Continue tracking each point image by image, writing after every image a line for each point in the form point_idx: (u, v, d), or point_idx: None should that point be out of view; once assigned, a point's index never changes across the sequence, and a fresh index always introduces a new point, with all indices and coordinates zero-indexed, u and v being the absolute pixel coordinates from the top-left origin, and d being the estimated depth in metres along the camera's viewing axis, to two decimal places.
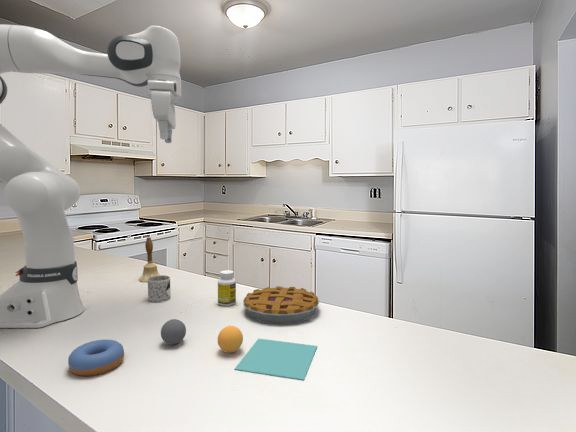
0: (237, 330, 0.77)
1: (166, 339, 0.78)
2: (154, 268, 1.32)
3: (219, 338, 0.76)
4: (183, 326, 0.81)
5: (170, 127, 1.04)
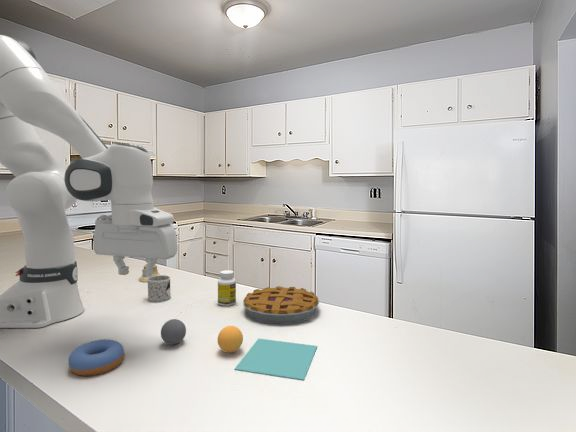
0: (237, 330, 0.77)
1: (166, 339, 0.78)
2: (154, 268, 1.32)
3: (219, 338, 0.76)
4: (183, 326, 0.81)
5: None
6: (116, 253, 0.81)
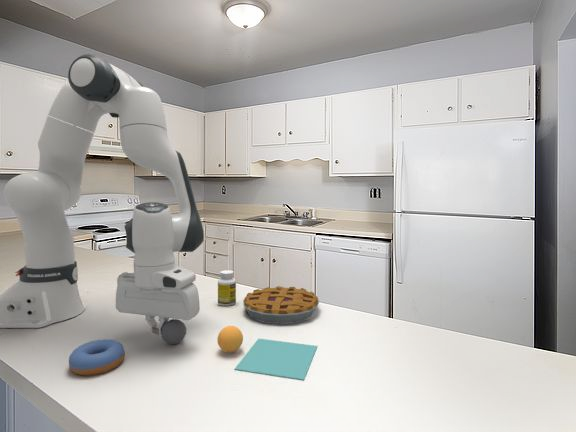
0: (237, 330, 0.77)
1: (167, 339, 0.78)
2: None
3: (219, 338, 0.76)
4: (183, 326, 0.81)
5: None
6: (139, 312, 0.81)
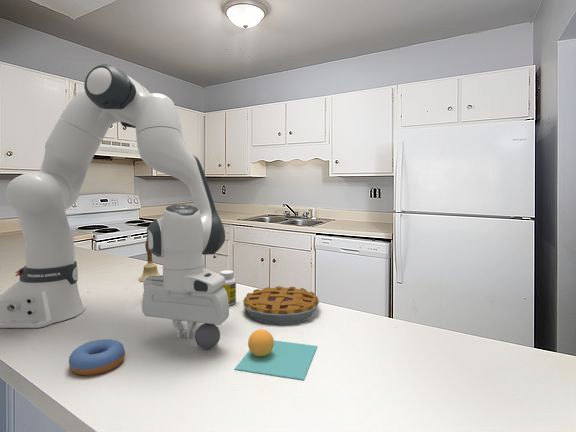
0: None
1: (201, 337, 0.76)
2: (154, 268, 1.32)
3: (265, 347, 0.73)
4: None
5: None
6: (166, 316, 0.79)
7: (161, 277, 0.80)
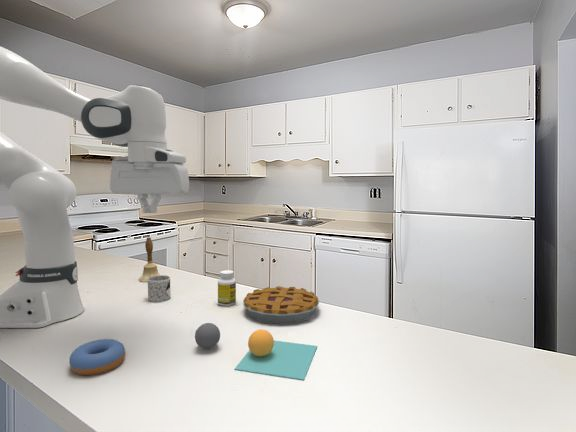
0: None
1: (201, 337, 0.76)
2: (154, 268, 1.32)
3: (265, 347, 0.73)
4: None
5: None
6: (132, 191, 0.86)
7: (127, 156, 0.87)
